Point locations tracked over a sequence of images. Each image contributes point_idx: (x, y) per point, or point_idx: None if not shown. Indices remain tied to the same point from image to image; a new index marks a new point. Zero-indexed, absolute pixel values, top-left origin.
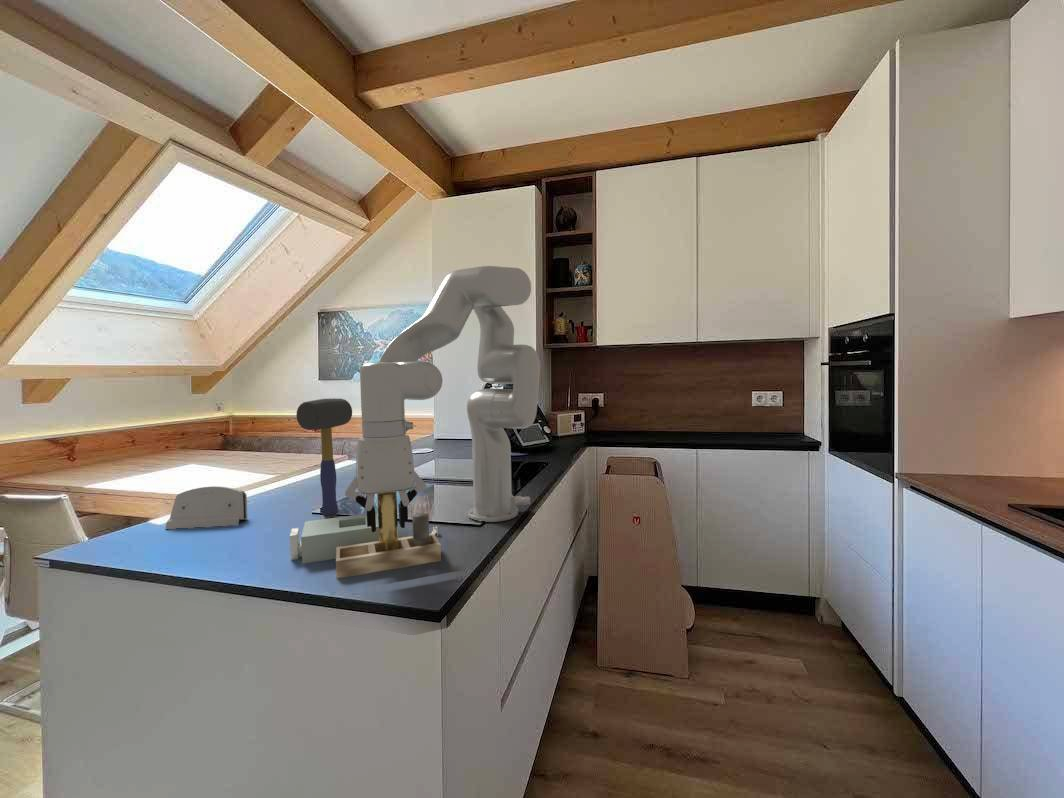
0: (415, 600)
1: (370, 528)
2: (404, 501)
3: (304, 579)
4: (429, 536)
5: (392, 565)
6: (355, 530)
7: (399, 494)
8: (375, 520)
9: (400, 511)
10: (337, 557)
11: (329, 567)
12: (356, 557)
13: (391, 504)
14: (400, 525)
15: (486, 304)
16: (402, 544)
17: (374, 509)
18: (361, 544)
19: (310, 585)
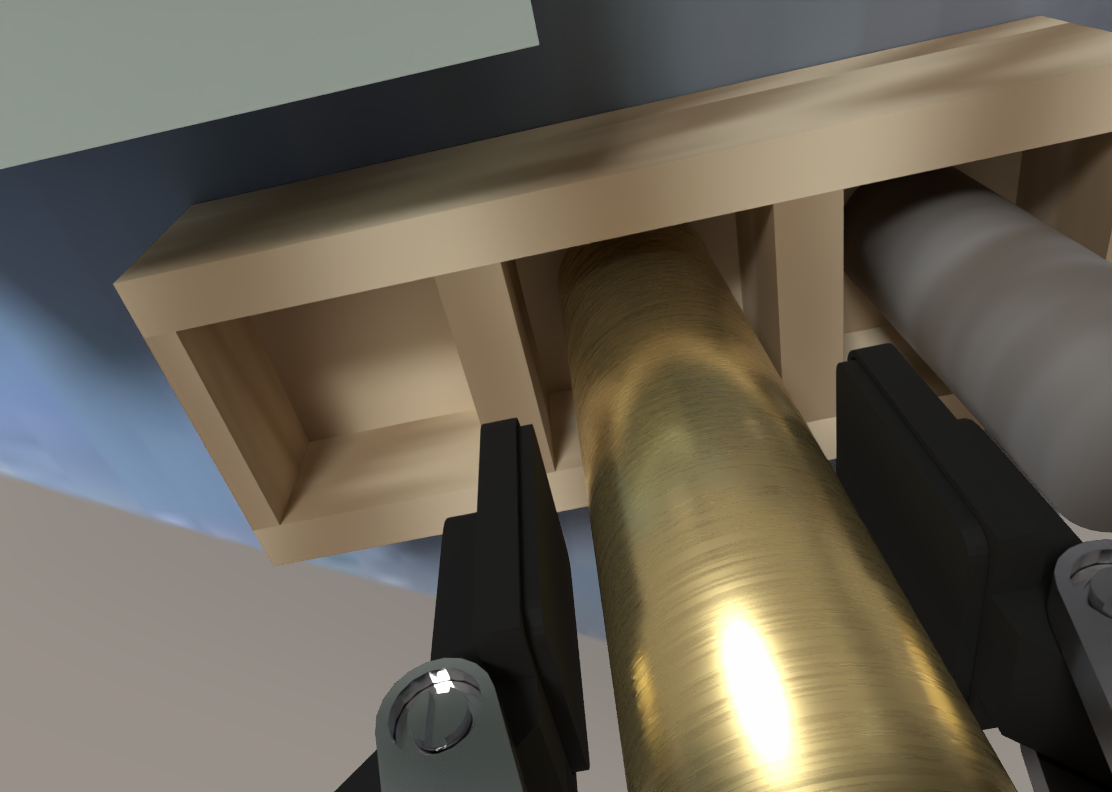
0: None
1: (403, 72)
2: (1076, 776)
3: (28, 356)
4: (1096, 128)
5: None
6: (202, 117)
7: (1106, 745)
8: (577, 661)
9: None
10: (253, 510)
11: (104, 167)
12: (415, 533)
13: None
14: (842, 484)
15: None
16: (784, 339)
17: (569, 732)
18: (366, 259)
19: (136, 446)
